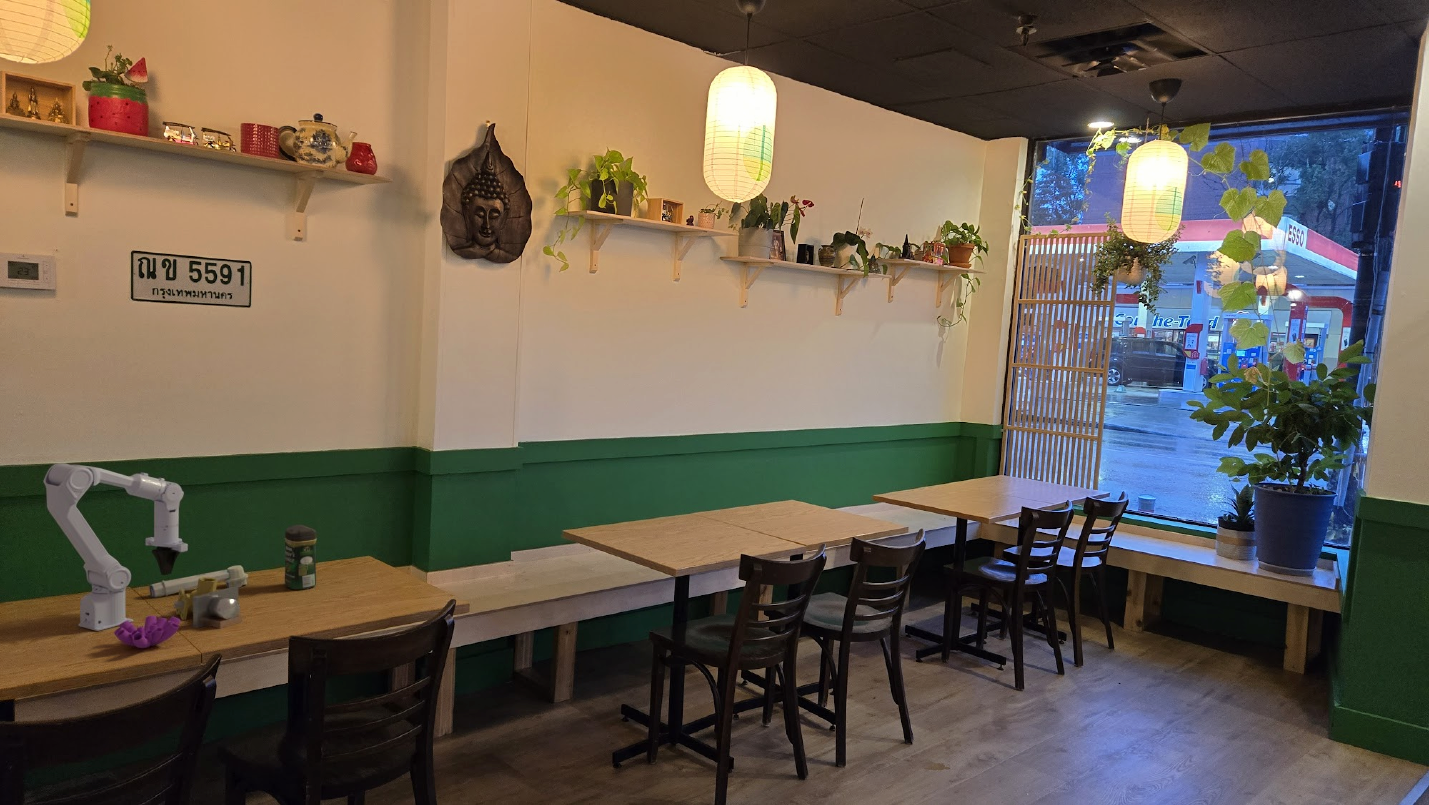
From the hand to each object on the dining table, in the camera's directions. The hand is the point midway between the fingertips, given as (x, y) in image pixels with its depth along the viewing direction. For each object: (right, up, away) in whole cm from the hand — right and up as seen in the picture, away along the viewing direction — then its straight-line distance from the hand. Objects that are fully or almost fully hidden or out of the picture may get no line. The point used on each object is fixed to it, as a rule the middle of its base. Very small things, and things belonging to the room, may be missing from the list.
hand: (166, 574), depth 253 cm
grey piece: (-2, -9, +19) cm, 21 cm away
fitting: (+20, -11, -8) cm, 24 cm away
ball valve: (+10, -11, -3) cm, 15 cm away
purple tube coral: (+11, -13, -26) cm, 31 cm away
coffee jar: (+24, -9, +28) cm, 38 cm away
